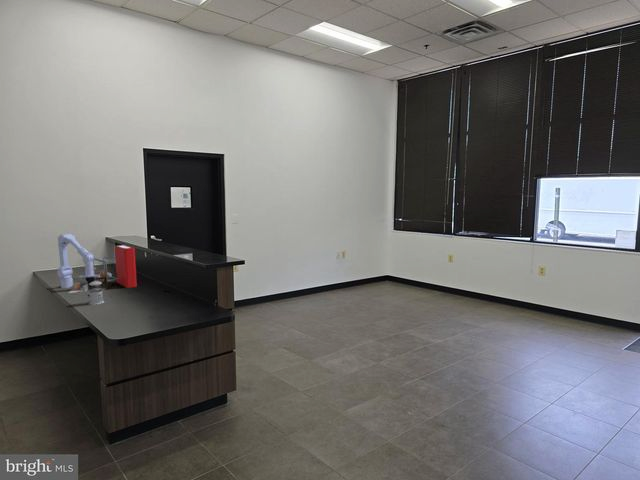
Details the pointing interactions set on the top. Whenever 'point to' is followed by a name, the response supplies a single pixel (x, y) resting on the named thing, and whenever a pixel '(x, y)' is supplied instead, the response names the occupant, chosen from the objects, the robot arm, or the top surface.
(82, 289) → the tan notched piece
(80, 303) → the top surface
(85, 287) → the pale blue block
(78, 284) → the canister
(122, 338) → the top surface
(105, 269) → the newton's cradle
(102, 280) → the cigar case
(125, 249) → the book
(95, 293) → the french press
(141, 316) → the top surface
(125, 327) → the top surface
